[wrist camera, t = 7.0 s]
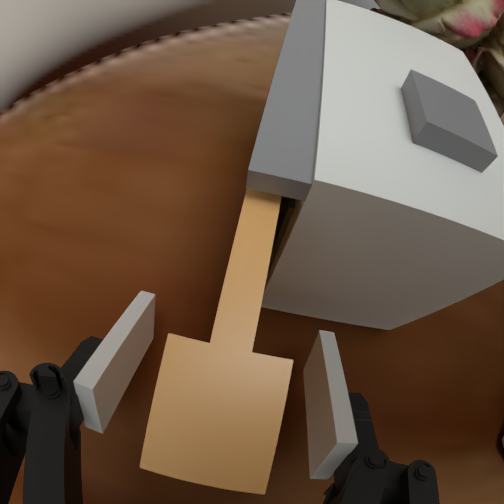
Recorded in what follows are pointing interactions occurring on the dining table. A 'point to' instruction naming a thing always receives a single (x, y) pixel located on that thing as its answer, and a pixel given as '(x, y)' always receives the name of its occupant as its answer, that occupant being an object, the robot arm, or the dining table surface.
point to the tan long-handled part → (224, 378)
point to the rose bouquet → (461, 33)
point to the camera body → (377, 171)
